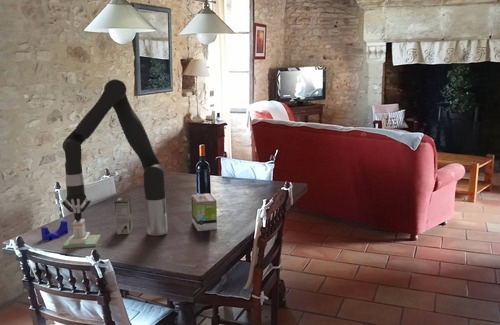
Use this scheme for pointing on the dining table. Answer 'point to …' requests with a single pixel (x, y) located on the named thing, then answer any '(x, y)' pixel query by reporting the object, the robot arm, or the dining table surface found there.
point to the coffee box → (123, 215)
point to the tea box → (204, 212)
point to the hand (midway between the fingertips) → (78, 220)
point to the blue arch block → (50, 236)
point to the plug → (79, 229)
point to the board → (82, 241)
